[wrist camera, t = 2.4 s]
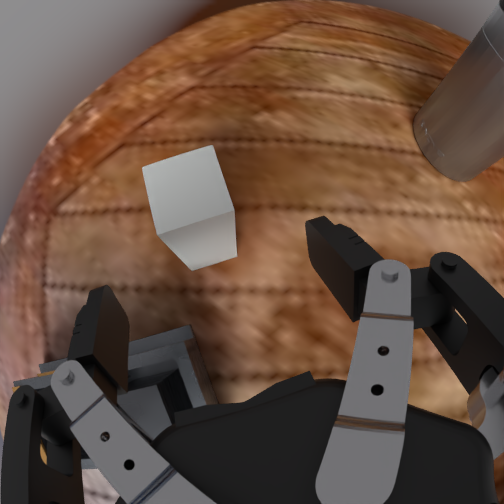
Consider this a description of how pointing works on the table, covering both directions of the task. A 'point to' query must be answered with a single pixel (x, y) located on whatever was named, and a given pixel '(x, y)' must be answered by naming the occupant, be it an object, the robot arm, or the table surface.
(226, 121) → the table surface
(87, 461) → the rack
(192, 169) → the block
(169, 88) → the table surface
